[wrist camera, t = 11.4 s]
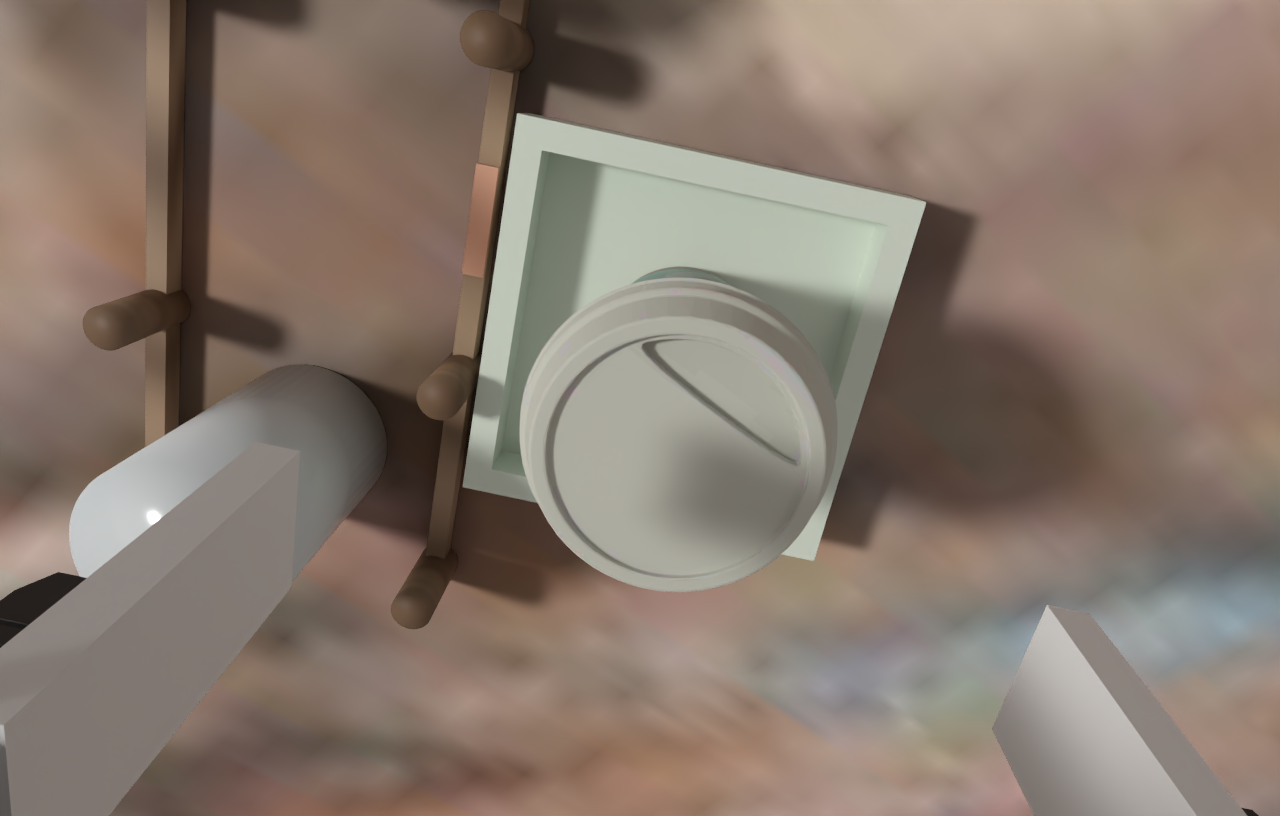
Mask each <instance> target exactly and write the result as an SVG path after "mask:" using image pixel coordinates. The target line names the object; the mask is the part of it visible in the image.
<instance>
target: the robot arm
mask: <svg viewBox="0 0 1280 816" xmlns="http://www.w3.org/2000/svg"><path fill="white" fill-rule="evenodd" d="M299 462H300V451H298V450H293V449H288V448H283V447H278V446H274V445H269V444H264V443H259V442H255V443H254V444H252V445H251V446H250V447H249V448H247V449H246V450H245V451H244V452H242V453H241V454H240V455H239V456H237V457H236V458H235V459H234V460H232V461H231V462H230V463H229V464H228V465H226V466H225V467H224V468H223V469H221V470H220V471H219V472H218V473H216V474H215V475H214V476H213V477H211V478H210V479H209V480H208V481H206V482H205V483H204V484H203V485H202V486H200V487H199V488H198V489H197V490H195V491H194V492H193V493H192V494H190V495H189V496H188V497H187V498H185V499H184V500H183V501H182V502H180V503H179V504H178V505H177V506H176V507H174V508H173V509H172V510H171V511H169V512H168V513H167V514H166V515H164V516H163V517H162V518H161V519H159V520H158V521H157V522H156V523H154V524H153V525H152V526H151V527H149V528H148V529H147V530H146V531H145V532H143V533H142V534H141V535H140V536H138V537H137V538H136V539H135V540H133V541H132V542H131V543H130V544H128V545H127V546H126V547H125V548H123V549H122V550H121V551H120V552H119V553H117V554H116V555H115V556H114V557H112V558H111V559H110V560H109V561H107V562H106V563H105V564H104V565H102V566H101V567H100V568H99V569H97V570H96V571H95V572H94V573H93V574H91V575H90V576H89V577H88V578H84V577H79V576H75V575H70V574H65V573H60V572H58V573H55V574H53V575H51V576H48V577H46V578H43V579H41V580H38V581H36V582H34V583H31V584H29V585H26V586H24V587H21V588H19V589H17V590H14V591H13V592H12V593H10V594H9V595H8V596H6V597H5V598H4V599H2V600H1V601H0V816H109V815H110V813H111V812H112V811H113V810H114V808H115V807H116V806H117V805H118V803H119V802H120V801H121V800H122V798H123V797H124V796H125V795H126V793H127V792H128V791H129V790H130V788H131V787H132V786H133V785H134V783H135V782H136V781H137V780H138V778H139V777H140V776H141V775H142V773H143V772H144V771H145V770H146V768H147V767H148V766H149V765H150V763H151V762H152V761H153V760H154V758H155V757H156V756H157V755H158V753H159V752H160V751H161V750H162V748H163V747H164V746H165V745H166V743H167V742H168V741H169V740H170V738H171V737H172V736H173V735H174V733H175V732H176V731H177V730H178V728H179V727H180V726H181V725H182V723H183V722H184V721H185V720H186V718H187V717H188V716H189V715H190V713H191V712H192V711H193V710H194V708H195V707H196V706H197V705H198V703H199V702H200V701H201V700H202V698H203V697H204V696H205V695H206V693H207V692H208V691H209V690H210V688H211V687H212V686H213V685H214V683H215V682H216V681H217V680H218V678H219V677H220V676H221V675H222V673H223V672H224V671H225V670H226V668H227V667H228V666H229V665H230V663H231V662H232V661H233V660H234V658H235V657H236V656H237V655H238V653H239V652H240V651H241V650H242V648H243V647H244V646H245V645H246V643H247V642H248V641H249V640H250V638H251V637H252V636H253V635H254V633H255V632H256V631H257V630H258V628H259V627H260V626H261V625H262V623H263V622H264V621H265V620H266V618H267V617H268V616H269V615H270V613H271V612H272V611H273V610H274V608H275V607H276V606H277V605H278V603H279V602H280V601H281V600H282V598H283V597H284V596H285V595H286V593H287V592H288V591H289V590H290V588H291V586H292V571H293V555H294V540H295V524H296V509H297V493H298V478H299ZM992 730H993V732H994V734H995V736H996V738H997V740H998V742H999V744H1000V746H1001V748H1002V750H1003V753H1004V755H1005V757H1006V759H1007V761H1008V763H1009V765H1010V767H1011V769H1012V771H1013V773H1014V775H1015V777H1016V779H1017V781H1018V784H1019V786H1020V788H1021V790H1022V792H1023V794H1024V796H1025V798H1026V800H1027V802H1028V804H1029V806H1030V808H1031V810H1032V812H1033V815H1034V816H1258V815H1257V814H1256V813H1255V812H1254V811H1253V810H1249V809H1244V808H1241V807H1240V806H1239V804H1238V803H1237V802H1236V801H1235V799H1234V798H1233V797H1232V795H1231V794H1230V793H1229V792H1228V790H1227V789H1226V788H1225V787H1224V785H1223V784H1222V783H1221V781H1220V780H1219V779H1218V778H1217V776H1216V775H1215V774H1214V772H1213V771H1212V770H1211V769H1210V767H1209V766H1208V765H1207V763H1206V762H1205V761H1204V760H1203V758H1202V757H1201V756H1200V754H1199V753H1198V752H1197V751H1196V749H1195V748H1194V747H1193V745H1192V744H1191V743H1190V742H1189V740H1188V739H1187V738H1186V736H1185V735H1184V734H1183V733H1182V731H1181V730H1180V729H1179V728H1178V726H1177V725H1176V724H1175V722H1174V721H1173V720H1172V719H1171V717H1170V716H1169V715H1168V713H1167V712H1166V711H1165V710H1164V708H1163V707H1162V706H1161V704H1160V703H1159V702H1158V701H1157V699H1156V698H1155V697H1154V695H1153V694H1152V693H1151V692H1150V690H1149V689H1148V688H1147V686H1146V685H1145V684H1144V683H1143V681H1142V680H1141V679H1140V677H1139V676H1138V675H1137V674H1136V672H1135V671H1134V670H1133V669H1132V667H1131V666H1130V665H1129V663H1128V662H1127V661H1126V660H1125V658H1124V657H1123V656H1122V654H1121V653H1120V652H1119V651H1118V649H1117V648H1116V647H1115V645H1114V644H1113V643H1112V642H1111V640H1110V639H1109V638H1108V636H1107V635H1106V634H1105V633H1104V631H1103V630H1102V629H1101V627H1100V626H1099V625H1098V624H1097V622H1096V621H1095V620H1094V619H1093V617H1092V616H1091V615H1090V614H1089V613H1084V612H1079V611H1074V610H1069V609H1065V608H1060V607H1055V606H1050V605H1047V606H1046V609H1045V611H1044V613H1043V615H1042V618H1041V620H1040V622H1039V624H1038V627H1037V629H1036V631H1035V633H1034V636H1033V638H1032V640H1031V642H1030V645H1029V647H1028V649H1027V651H1026V654H1025V656H1024V658H1023V660H1022V663H1021V665H1020V667H1019V669H1018V672H1017V674H1016V676H1015V678H1014V681H1013V683H1012V685H1011V687H1010V690H1009V692H1008V694H1007V696H1006V699H1005V701H1004V703H1003V705H1002V708H1001V710H1000V712H999V714H998V717H997V719H996V721H995V723H994V726H993V728H992Z"/></svg>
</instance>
